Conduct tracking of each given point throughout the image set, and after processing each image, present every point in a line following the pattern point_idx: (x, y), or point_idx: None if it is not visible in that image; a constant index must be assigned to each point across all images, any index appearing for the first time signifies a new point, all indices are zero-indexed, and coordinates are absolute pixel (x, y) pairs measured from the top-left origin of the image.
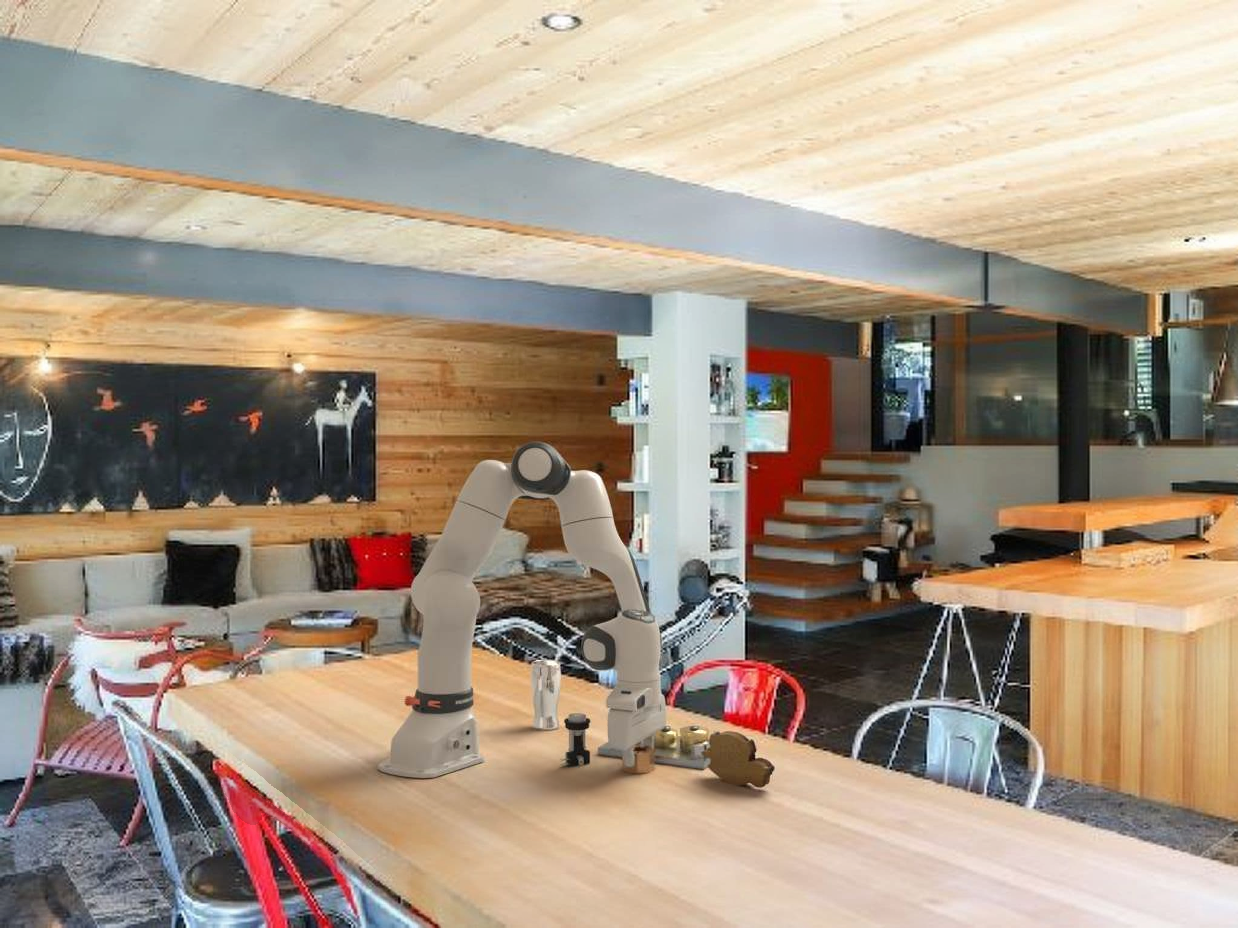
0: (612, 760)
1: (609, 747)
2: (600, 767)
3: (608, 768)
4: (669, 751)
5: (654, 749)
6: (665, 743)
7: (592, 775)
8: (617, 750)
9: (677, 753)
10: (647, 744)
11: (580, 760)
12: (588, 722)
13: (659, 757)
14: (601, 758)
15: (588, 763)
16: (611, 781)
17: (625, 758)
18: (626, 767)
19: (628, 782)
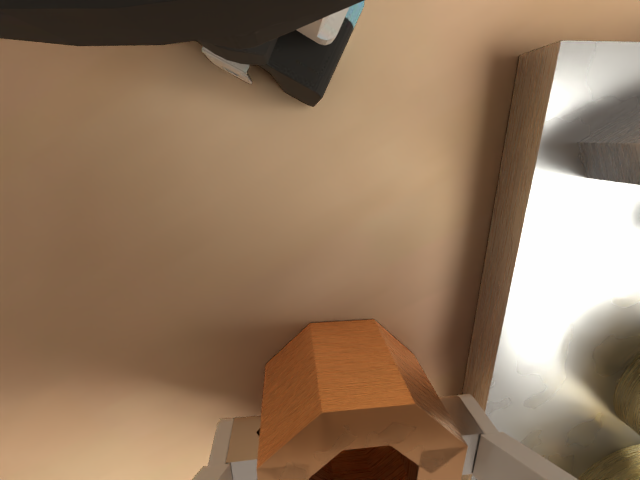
0: (425, 206)
1: (573, 129)
2: (267, 213)
3: (274, 262)
4: (562, 439)
5: None
6: (638, 426)
7: (100, 251)
8: (524, 210)
9: None
10: (491, 471)
11: (222, 64)
12: (40, 24)
13: None
14: (442, 124)
15: (301, 101)
16: (82, 381)
17: (210, 457)
18: (265, 381)
19: (126, 442)
